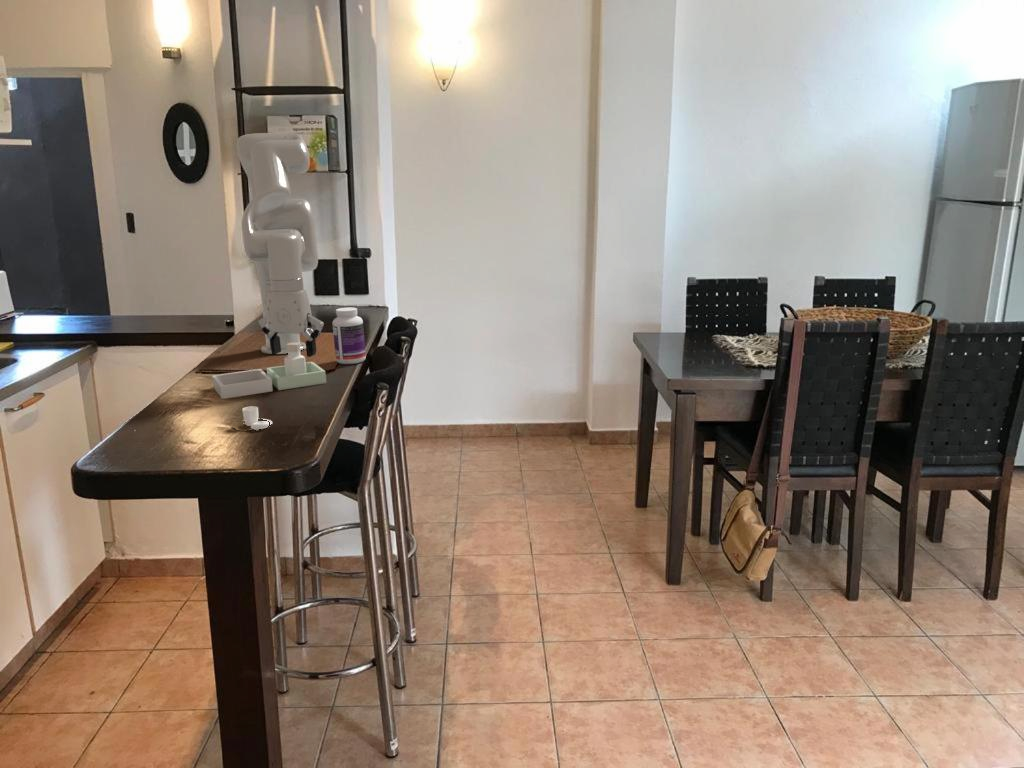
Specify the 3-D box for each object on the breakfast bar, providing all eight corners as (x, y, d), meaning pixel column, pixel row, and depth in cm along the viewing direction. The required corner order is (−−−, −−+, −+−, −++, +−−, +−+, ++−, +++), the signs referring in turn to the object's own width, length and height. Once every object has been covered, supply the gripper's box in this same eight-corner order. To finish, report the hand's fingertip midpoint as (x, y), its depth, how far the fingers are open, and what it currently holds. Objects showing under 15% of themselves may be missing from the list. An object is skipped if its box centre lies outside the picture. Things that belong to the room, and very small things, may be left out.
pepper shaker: (308, 380, 201) (304, 343, 198) (294, 384, 198) (290, 346, 196) (299, 378, 204) (295, 341, 201) (285, 381, 201) (281, 344, 198)
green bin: (267, 379, 203) (266, 367, 202) (313, 372, 208) (312, 361, 207) (278, 390, 193) (277, 378, 192) (326, 383, 198) (325, 371, 198)
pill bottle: (372, 359, 221) (368, 307, 217) (354, 366, 214) (350, 312, 210) (347, 357, 224) (343, 305, 220) (329, 363, 217) (325, 310, 213)
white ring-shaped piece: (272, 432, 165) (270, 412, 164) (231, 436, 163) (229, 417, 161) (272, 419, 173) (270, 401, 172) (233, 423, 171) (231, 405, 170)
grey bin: (213, 387, 197) (212, 375, 196) (262, 380, 202) (260, 368, 201) (222, 398, 187) (220, 386, 186) (272, 391, 192) (271, 379, 192)
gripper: (246, 287, 193) (254, 356, 198) (311, 289, 189) (317, 360, 194) (264, 281, 200) (271, 348, 205) (327, 284, 196) (332, 352, 201)
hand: (293, 354), depth 199 cm, fingers open, 9 cm apart
